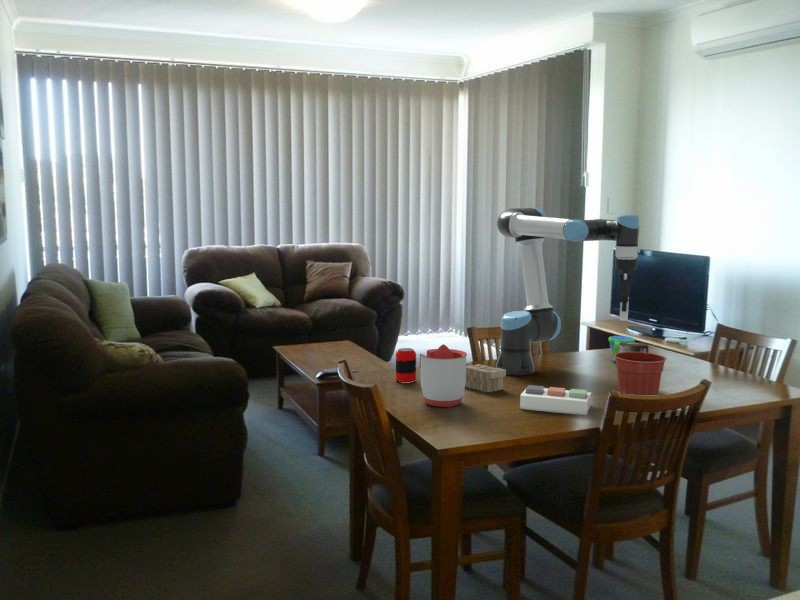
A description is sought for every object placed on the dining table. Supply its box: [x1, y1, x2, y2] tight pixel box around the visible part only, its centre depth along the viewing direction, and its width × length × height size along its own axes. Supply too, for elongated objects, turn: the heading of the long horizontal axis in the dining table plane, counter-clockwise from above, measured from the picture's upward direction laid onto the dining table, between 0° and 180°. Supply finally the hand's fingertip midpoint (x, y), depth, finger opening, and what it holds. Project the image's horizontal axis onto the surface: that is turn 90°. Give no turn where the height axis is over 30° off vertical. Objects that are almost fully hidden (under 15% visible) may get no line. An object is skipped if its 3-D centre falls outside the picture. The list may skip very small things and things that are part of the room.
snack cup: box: [608, 335, 636, 364], centre depth 312 cm, size 16×10×10 cm
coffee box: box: [619, 342, 650, 353], centre depth 270 cm, size 9×6×16 cm
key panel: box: [519, 387, 592, 416], centre depth 245 cm, size 21×12×4 cm, turn 70°
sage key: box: [569, 388, 588, 399], centre depth 242 cm, size 5×5×3 cm
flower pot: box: [614, 352, 667, 396], centre depth 248 cm, size 16×16×16 cm
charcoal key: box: [525, 384, 545, 395], centre depth 247 cm, size 5×5×3 cm
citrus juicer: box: [416, 344, 468, 408], centre depth 249 cm, size 16×17×20 cm
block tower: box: [465, 361, 507, 393], centre depth 274 cm, size 8×8×29 cm
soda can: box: [395, 347, 417, 382], centre depth 279 cm, size 8×8×12 cm
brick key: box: [547, 386, 566, 397], centre depth 244 cm, size 5×5×3 cm
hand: (623, 317), depth 267 cm, fingers open, 13 cm apart
